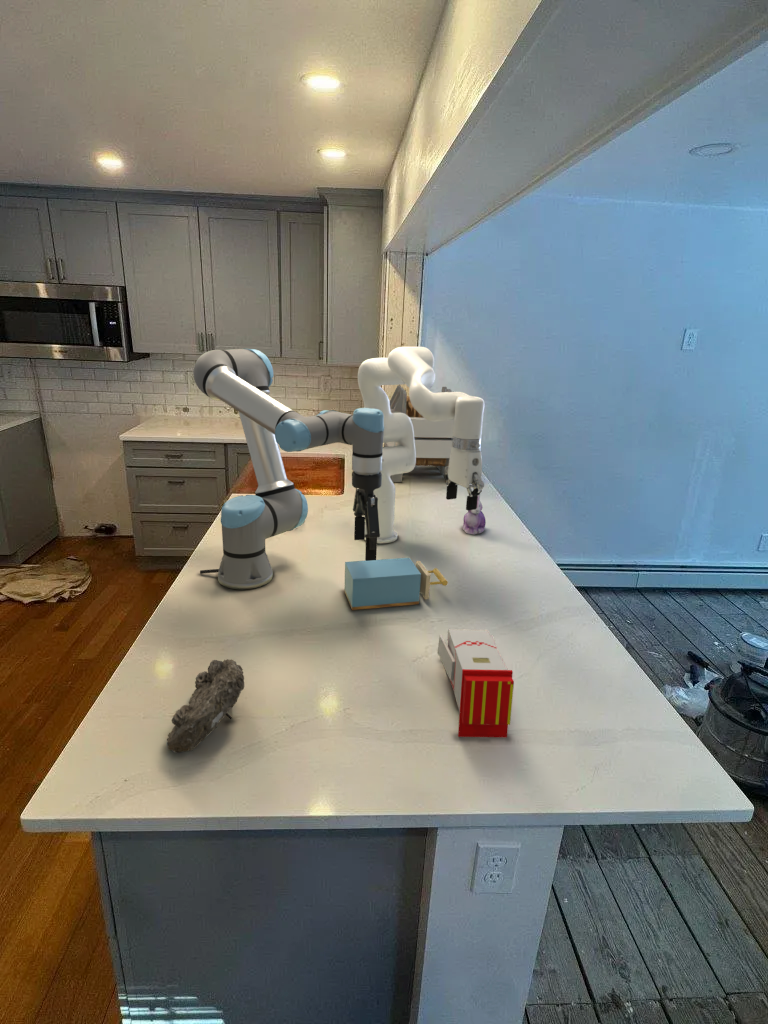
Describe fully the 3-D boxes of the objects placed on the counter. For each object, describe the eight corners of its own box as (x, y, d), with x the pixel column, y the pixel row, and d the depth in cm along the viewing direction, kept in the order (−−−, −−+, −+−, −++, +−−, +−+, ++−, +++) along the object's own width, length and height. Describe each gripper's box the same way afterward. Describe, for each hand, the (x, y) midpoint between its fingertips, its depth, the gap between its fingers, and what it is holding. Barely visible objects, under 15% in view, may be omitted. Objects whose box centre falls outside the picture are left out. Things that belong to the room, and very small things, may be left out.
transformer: (382, 463, 289) (386, 382, 275) (445, 464, 293) (451, 384, 279) (390, 482, 257) (394, 392, 243) (460, 483, 261) (468, 394, 247)
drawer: (436, 581, 164) (438, 559, 161) (447, 597, 155) (449, 573, 153) (359, 588, 158) (360, 564, 156) (366, 604, 150) (367, 580, 147)
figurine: (471, 536, 200) (475, 496, 195) (454, 527, 208) (458, 488, 203) (492, 533, 204) (497, 493, 199) (475, 523, 212) (479, 485, 207)
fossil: (192, 660, 117) (244, 628, 112) (224, 691, 120) (276, 661, 115) (142, 746, 98) (202, 712, 93) (182, 779, 101) (242, 748, 96)
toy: (488, 613, 130) (523, 677, 101) (484, 667, 133) (517, 744, 104) (435, 612, 130) (455, 676, 101) (432, 666, 133) (451, 743, 103)
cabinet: (407, 586, 163) (409, 557, 160) (418, 604, 153) (421, 573, 150) (344, 591, 158) (344, 561, 155) (351, 610, 148) (352, 579, 145)
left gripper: (394, 485, 132) (391, 568, 139) (370, 458, 154) (368, 531, 161) (363, 486, 130) (361, 570, 137) (343, 459, 152) (342, 532, 159)
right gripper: (497, 449, 146) (490, 512, 151) (459, 436, 160) (454, 493, 166) (473, 451, 142) (467, 515, 148) (437, 437, 157) (433, 496, 163)
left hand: (364, 549), depth 149 cm, fingers open, 13 cm apart
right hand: (460, 504), depth 157 cm, fingers open, 9 cm apart
